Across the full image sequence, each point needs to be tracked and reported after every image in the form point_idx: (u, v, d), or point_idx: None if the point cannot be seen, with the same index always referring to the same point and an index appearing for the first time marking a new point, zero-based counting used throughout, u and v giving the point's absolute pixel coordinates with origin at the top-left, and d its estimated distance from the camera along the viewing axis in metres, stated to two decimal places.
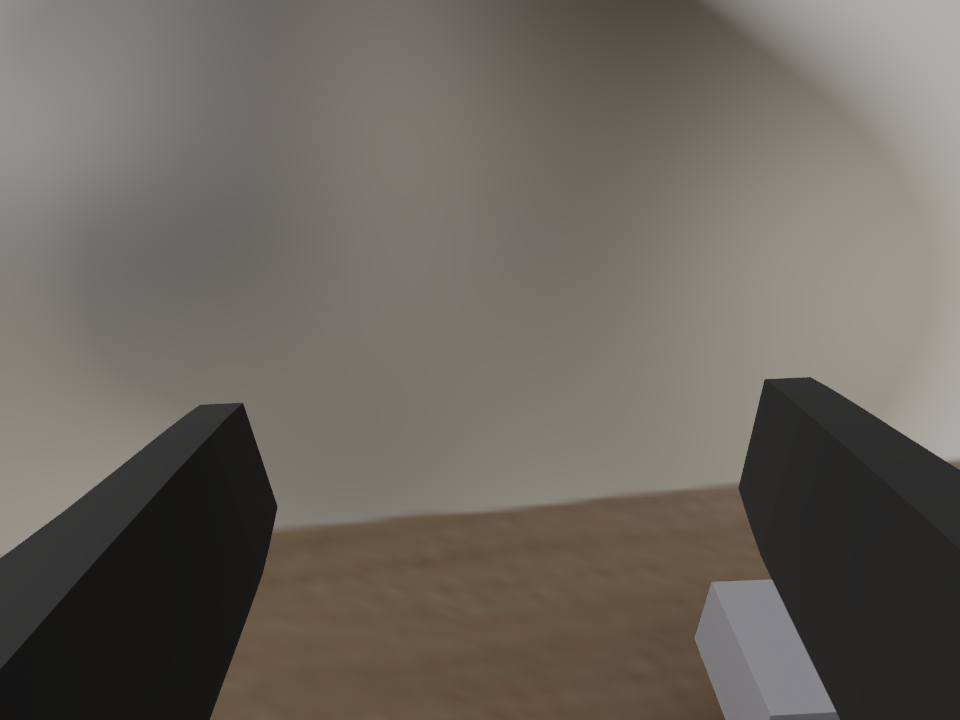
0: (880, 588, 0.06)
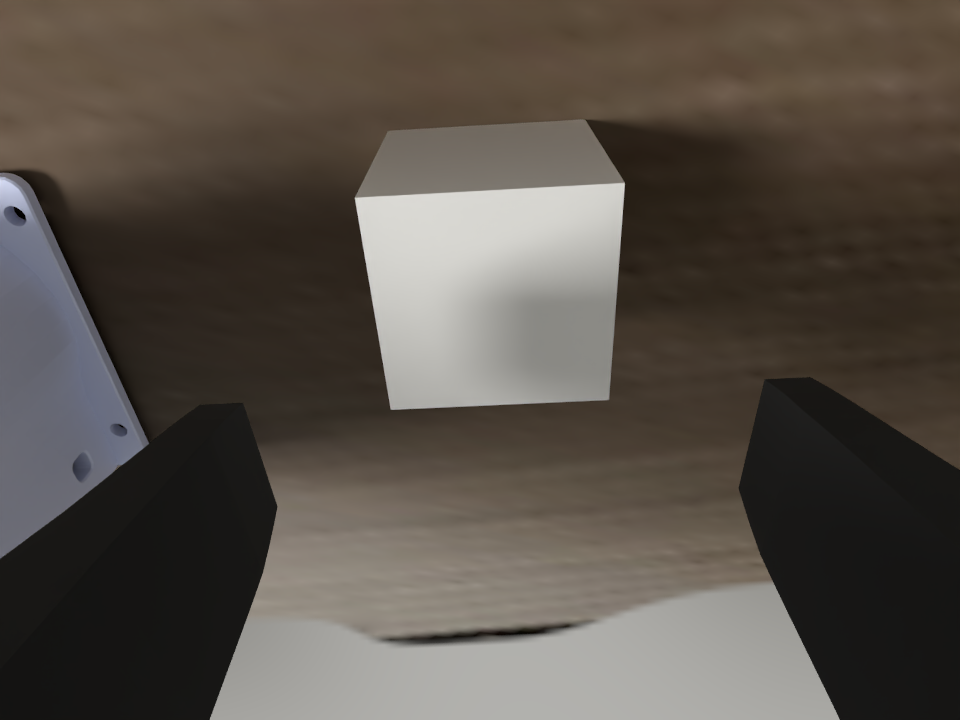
0: (880, 588, 0.06)
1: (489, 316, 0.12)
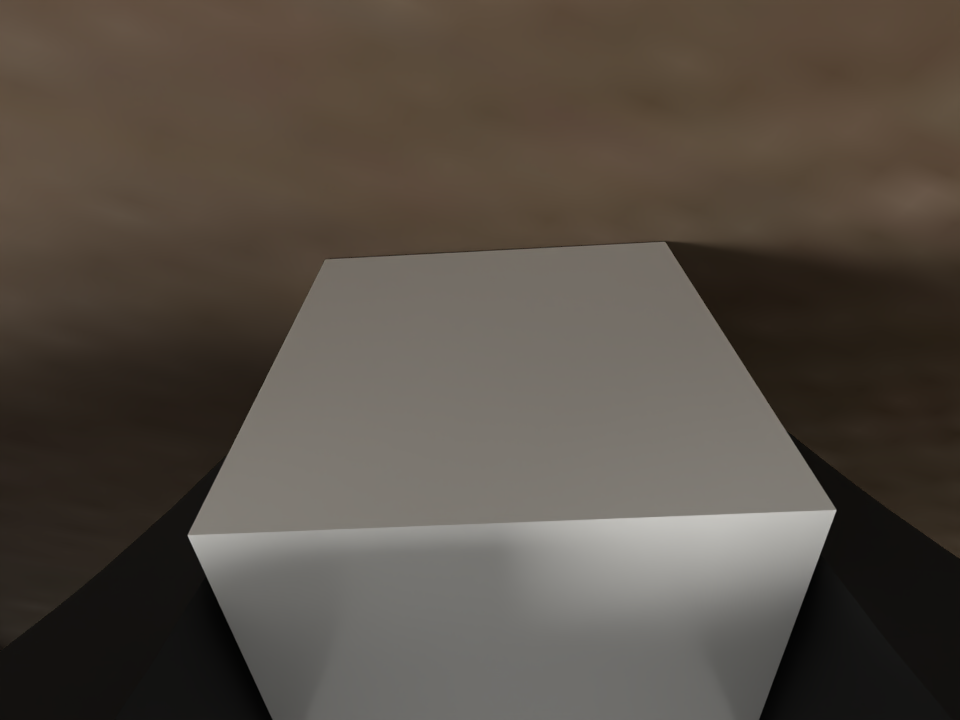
0: None
1: (503, 706, 0.06)
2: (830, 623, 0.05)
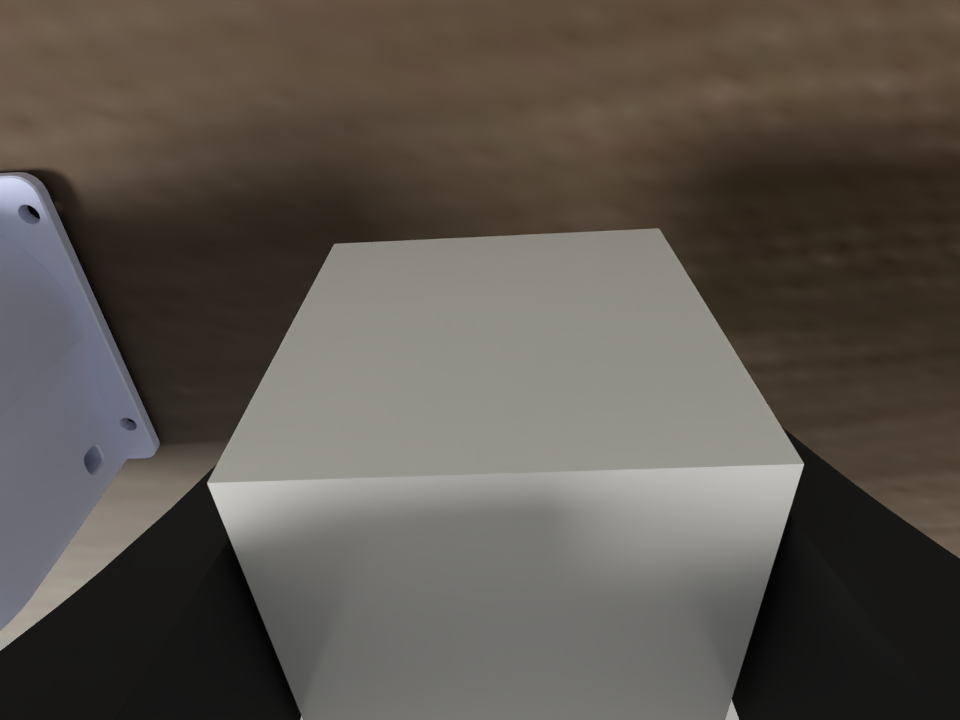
0: (764, 592, 0.06)
1: (498, 657, 0.06)
2: (831, 623, 0.05)
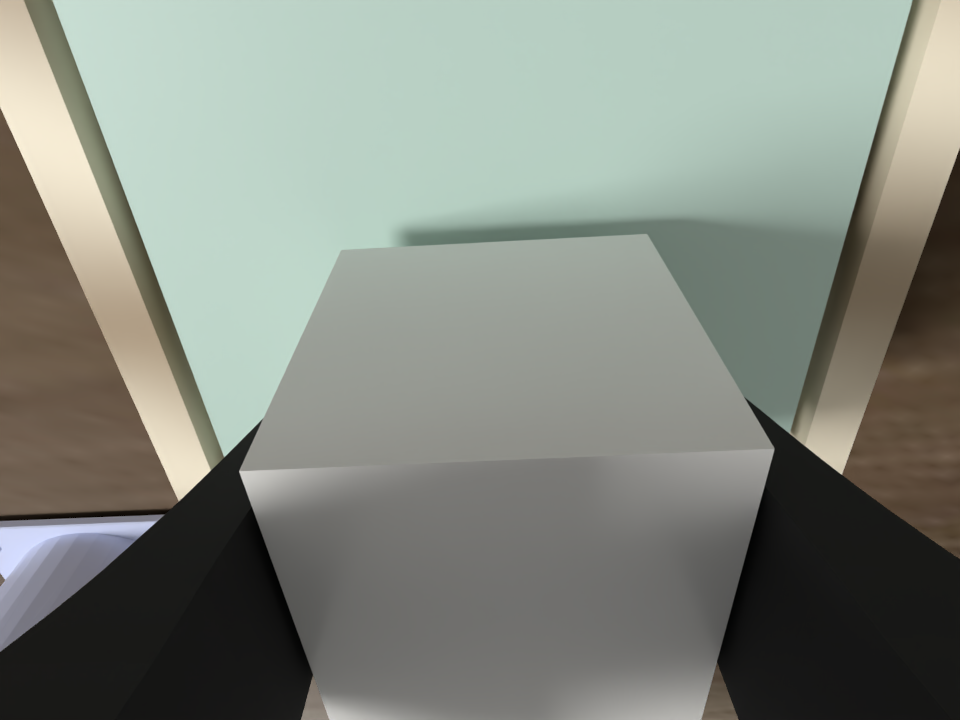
0: (765, 592, 0.06)
1: (501, 631, 0.07)
2: (830, 623, 0.05)
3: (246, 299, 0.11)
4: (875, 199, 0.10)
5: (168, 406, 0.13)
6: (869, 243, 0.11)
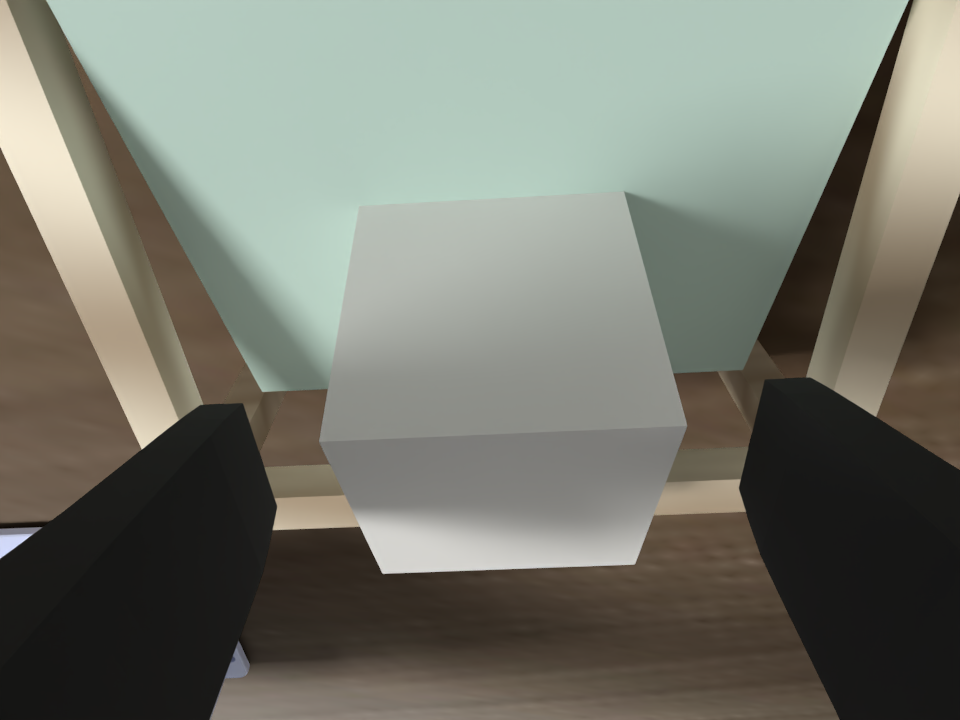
0: (880, 588, 0.06)
1: (498, 518, 0.10)
2: None
3: (266, 262, 0.12)
4: (886, 207, 0.10)
5: (160, 417, 0.12)
6: (880, 252, 0.10)
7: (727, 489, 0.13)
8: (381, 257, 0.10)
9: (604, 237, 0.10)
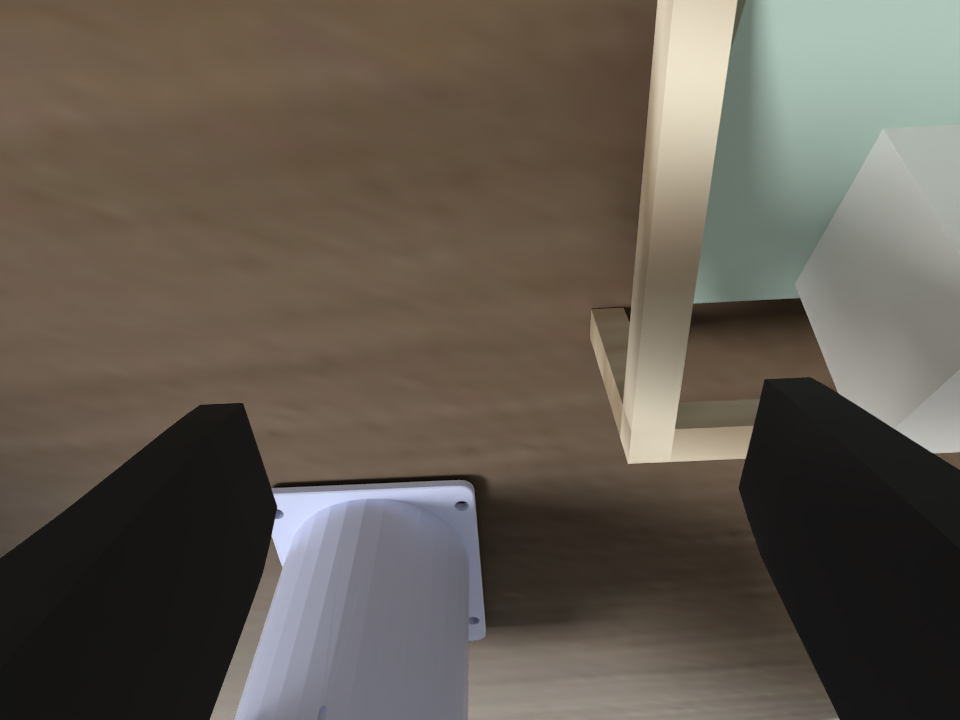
0: (880, 589, 0.06)
1: None
2: None
3: (757, 182, 0.14)
4: None
5: (671, 344, 0.13)
6: None
7: None
8: (940, 174, 0.12)
9: None
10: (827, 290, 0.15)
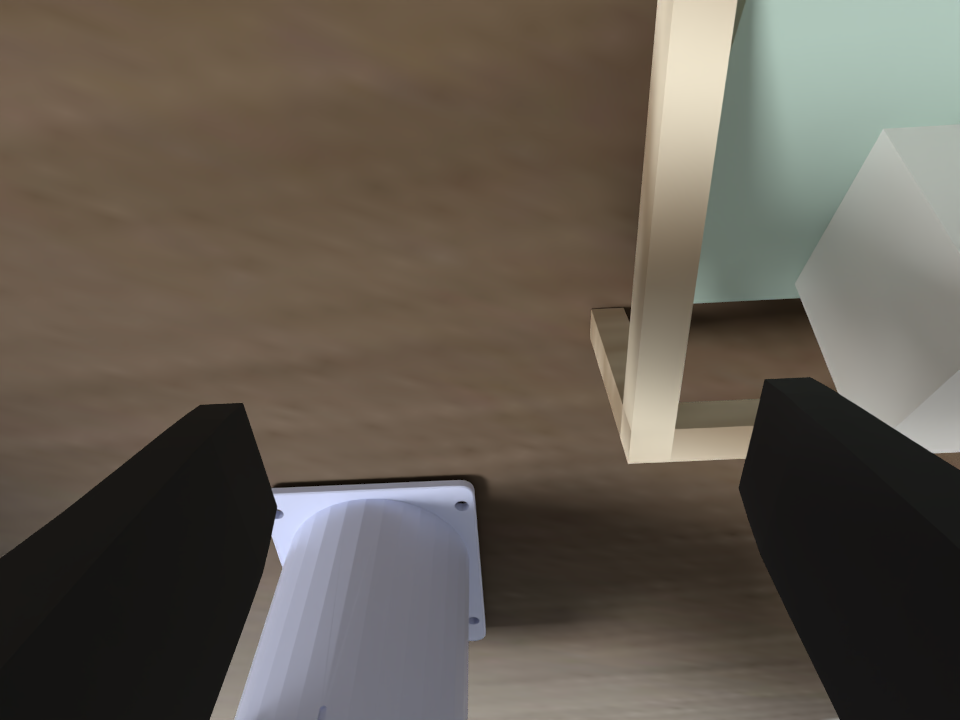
0: (880, 589, 0.06)
1: None
2: None
3: (757, 182, 0.14)
4: None
5: (671, 344, 0.13)
6: None
7: None
8: (940, 174, 0.12)
9: None
10: (827, 290, 0.15)
